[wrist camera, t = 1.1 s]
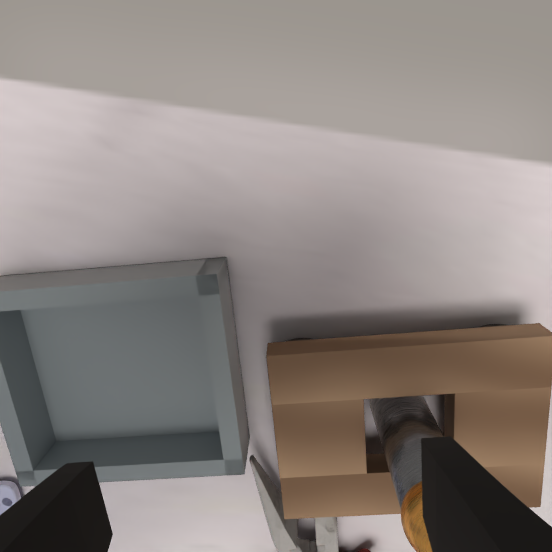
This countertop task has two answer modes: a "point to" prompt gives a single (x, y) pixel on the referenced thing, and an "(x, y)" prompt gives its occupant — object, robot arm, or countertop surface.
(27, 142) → the countertop surface
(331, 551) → the pliers
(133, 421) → the tray
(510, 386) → the brown frame
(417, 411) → the stop pin
